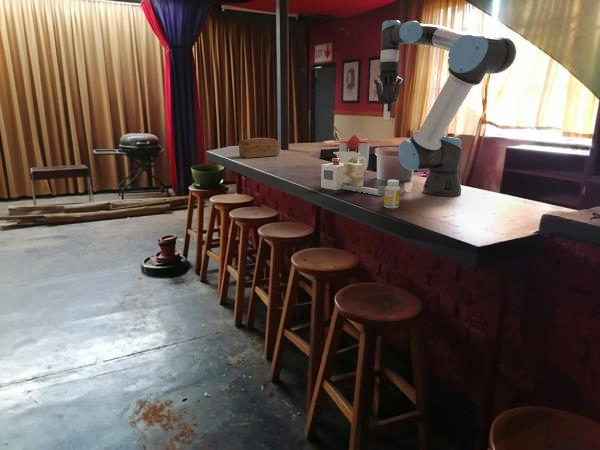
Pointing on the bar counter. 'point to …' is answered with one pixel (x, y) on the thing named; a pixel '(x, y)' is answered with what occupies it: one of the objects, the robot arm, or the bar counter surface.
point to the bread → (259, 147)
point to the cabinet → (332, 176)
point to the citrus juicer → (356, 147)
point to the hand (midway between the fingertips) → (386, 119)
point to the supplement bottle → (392, 194)
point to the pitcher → (350, 158)
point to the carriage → (353, 174)
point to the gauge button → (335, 161)
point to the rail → (365, 189)
